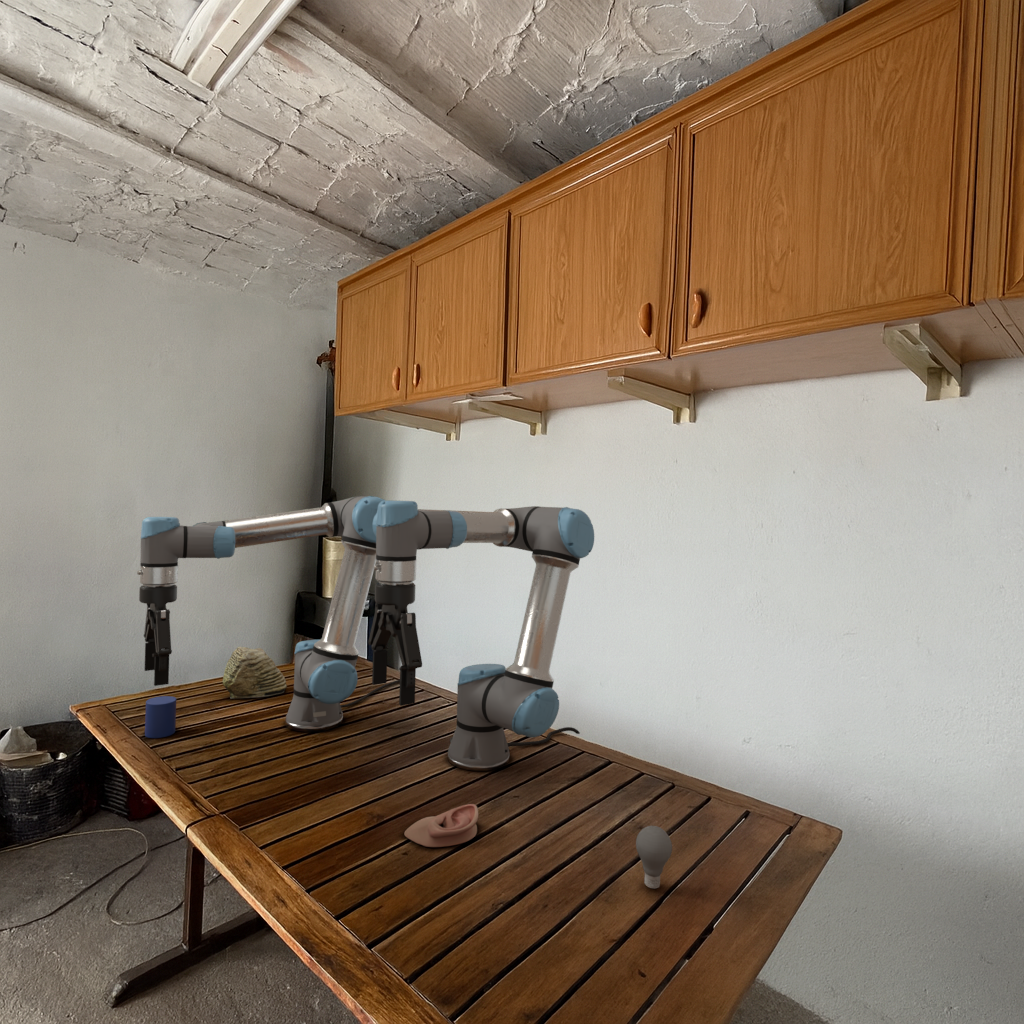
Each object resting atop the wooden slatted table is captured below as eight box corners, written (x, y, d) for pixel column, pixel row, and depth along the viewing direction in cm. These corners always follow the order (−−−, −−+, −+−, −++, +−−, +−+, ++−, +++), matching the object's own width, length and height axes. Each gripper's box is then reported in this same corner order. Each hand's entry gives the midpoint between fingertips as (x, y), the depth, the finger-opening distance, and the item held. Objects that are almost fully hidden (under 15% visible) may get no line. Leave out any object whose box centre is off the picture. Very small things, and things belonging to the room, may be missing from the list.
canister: (138, 736, 162) (139, 702, 161) (158, 727, 168) (159, 694, 168) (161, 739, 160) (162, 705, 160) (181, 730, 167) (182, 697, 167)
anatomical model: (398, 821, 117) (420, 793, 128) (397, 842, 117) (419, 813, 128) (468, 831, 114) (483, 802, 126) (467, 853, 114) (482, 822, 126)
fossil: (218, 695, 195) (220, 647, 195) (278, 685, 208) (279, 640, 207) (228, 703, 189) (230, 653, 188) (289, 692, 201) (290, 645, 201)
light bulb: (629, 875, 110) (632, 818, 110) (663, 875, 110) (666, 818, 110) (639, 897, 104) (642, 837, 104) (675, 897, 104) (678, 837, 104)
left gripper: (132, 578, 152) (129, 666, 152) (148, 593, 132) (145, 694, 133) (167, 577, 156) (164, 662, 157) (188, 591, 137) (185, 688, 137)
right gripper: (354, 574, 128) (351, 678, 129) (403, 593, 107) (400, 717, 108) (389, 572, 132) (386, 673, 133) (443, 590, 111) (439, 710, 112)
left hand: (156, 677), depth 145 cm, fingers open, 13 cm apart
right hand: (392, 693), depth 120 cm, fingers open, 13 cm apart
